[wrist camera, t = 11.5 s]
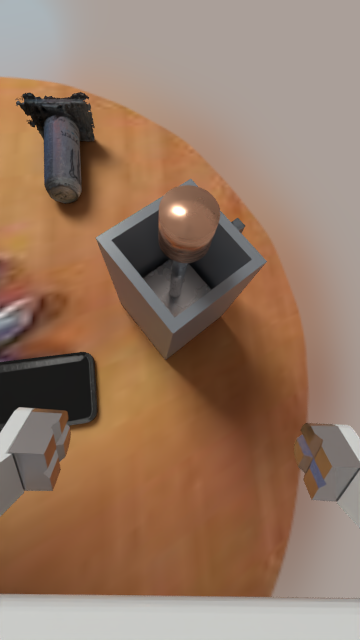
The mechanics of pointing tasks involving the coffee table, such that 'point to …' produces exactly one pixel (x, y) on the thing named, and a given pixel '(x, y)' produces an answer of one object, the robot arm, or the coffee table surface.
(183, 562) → the coffee table surface
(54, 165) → the beverage can
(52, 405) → the phone
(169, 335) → the box
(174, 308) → the ball-topped press plunger
